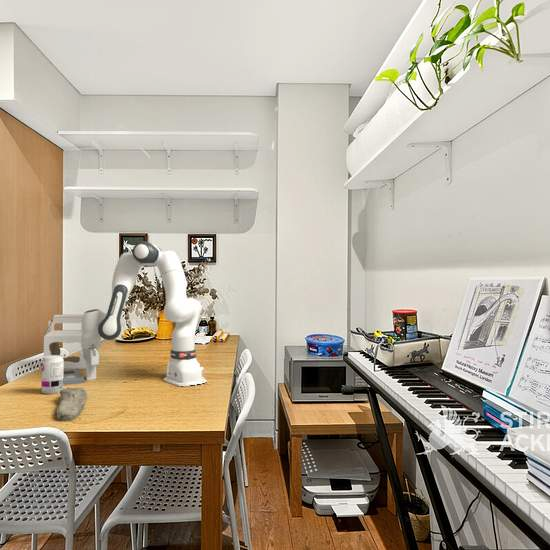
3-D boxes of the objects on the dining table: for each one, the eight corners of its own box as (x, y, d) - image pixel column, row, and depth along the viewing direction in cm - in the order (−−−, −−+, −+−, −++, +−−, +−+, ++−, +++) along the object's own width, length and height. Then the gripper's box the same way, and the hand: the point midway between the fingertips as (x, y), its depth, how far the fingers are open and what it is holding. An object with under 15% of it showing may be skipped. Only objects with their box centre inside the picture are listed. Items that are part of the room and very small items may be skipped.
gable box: (42, 369, 221) (43, 315, 221) (52, 364, 234) (52, 313, 234) (87, 368, 224) (88, 315, 224) (94, 363, 237) (95, 313, 237)
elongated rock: (50, 427, 145) (82, 425, 148) (51, 412, 144) (83, 411, 148) (62, 393, 177) (88, 393, 181) (63, 381, 177) (88, 380, 181)
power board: (84, 382, 196) (84, 377, 196) (60, 385, 191) (60, 380, 191) (76, 372, 215) (76, 368, 215) (54, 375, 209) (54, 370, 209)
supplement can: (39, 395, 176) (39, 359, 176) (44, 389, 184) (44, 355, 184) (60, 393, 178) (61, 358, 178) (64, 388, 186) (65, 354, 186)
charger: (96, 378, 204) (96, 363, 204) (87, 379, 202) (87, 363, 201) (94, 377, 207) (94, 361, 207) (85, 378, 205) (85, 362, 205)
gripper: (102, 346, 197) (102, 375, 197) (94, 339, 214) (93, 367, 214) (88, 347, 194) (87, 377, 194) (80, 340, 211) (80, 368, 211)
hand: (90, 371), depth 204 cm, fingers open, 4 cm apart
